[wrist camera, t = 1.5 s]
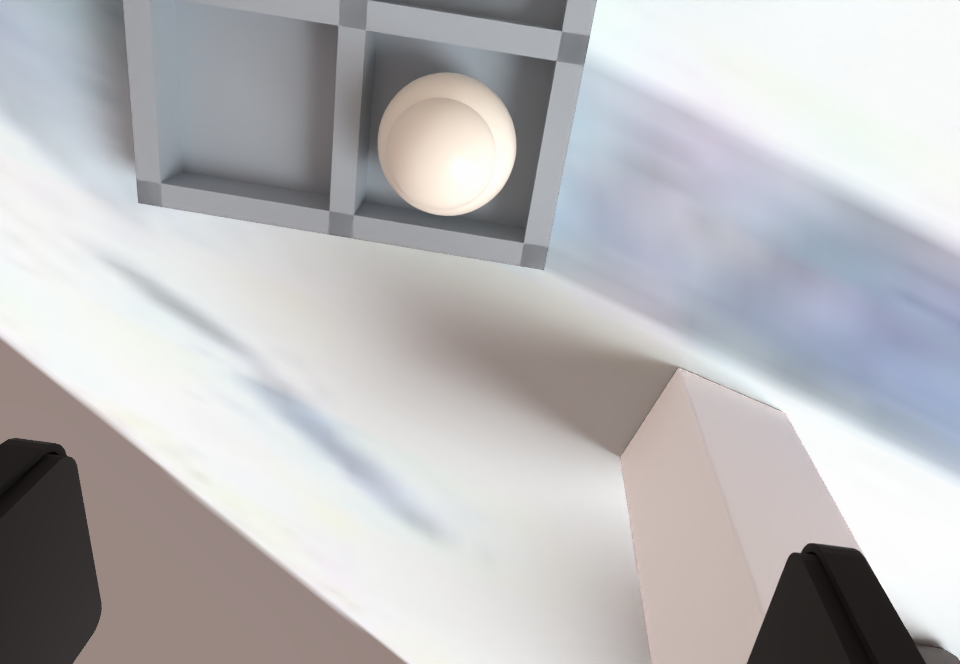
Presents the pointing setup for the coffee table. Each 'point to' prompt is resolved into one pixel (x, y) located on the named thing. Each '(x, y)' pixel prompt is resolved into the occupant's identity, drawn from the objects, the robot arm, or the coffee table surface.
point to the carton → (361, 116)
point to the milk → (718, 517)
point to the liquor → (936, 655)
